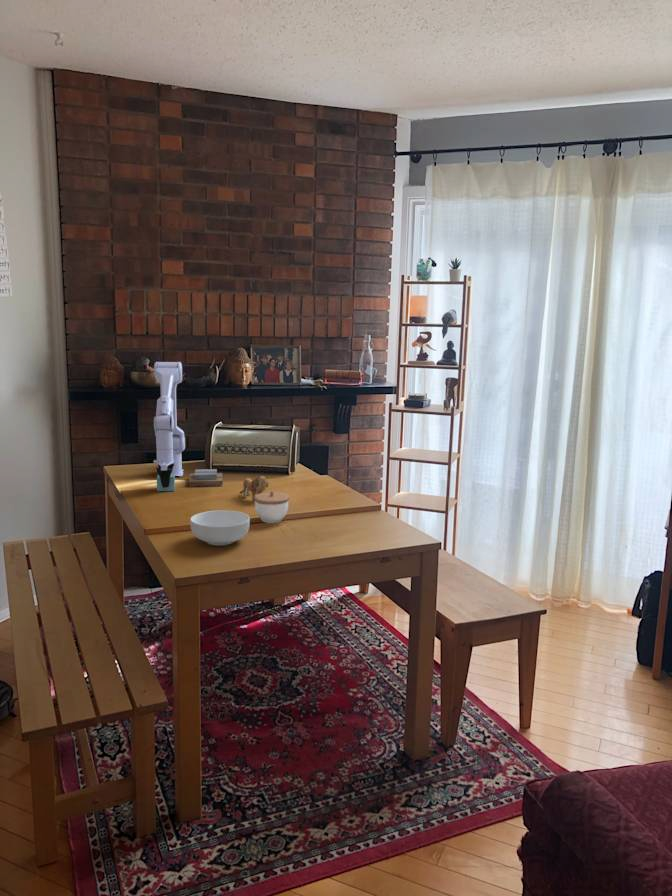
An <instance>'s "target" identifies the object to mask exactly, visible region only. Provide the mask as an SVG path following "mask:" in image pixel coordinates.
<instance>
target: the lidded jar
mask: <svg viewBox="0 0 672 896" xmlns="http://www.w3.org/2000/svg"><path fill="white" fill-rule="evenodd" d="M289 501H290V495H289V494H287V493H285V492H278V491H273V490H270V491H267V492H262V493H260V494H255V502H254V507H255V508H254V509H255V512H256V514H257V516H258V518H260V520H261V521H262V522H263V523H266V524H277V523H280V522H282V520H283V519H284V518H285V517H286V515H287V513H288V511H289V505H290V504H289Z"/></svg>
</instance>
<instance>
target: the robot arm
mask: <svg viewBox="0 0 672 896" xmlns="http://www.w3.org/2000/svg"><path fill="white" fill-rule="evenodd" d="M153 374H154V378H155V380H156V382H157V383H158V384H159V386H160V397H159V398H158V399H157V400H156V411H155V416H154V417H153V427H154V435H155V444H156V459H154V460H153V464H157V466H158V467H157V468H156V472H157V475H158V474H159V476H160V479H161V484H162V487H163V488H165V487H169V482H170V475H171V474H175V476H179V477H183V475H184V472H185V470H184V469H183V466H182V465H183V463H182V462H183V461H182V460H183V459H182V458H183V457H182V452H184V450H185V449H186V437H185V432H184V430H183V429H181V427H179V426H178V425H177V424H178V423H177V422H178V421H177V420H178V419H177V417H178V415H177V387H178V384H180V383H182V381H183V364H182V362H181V361H156V362H154V365H153ZM183 471H184V472H183Z"/></svg>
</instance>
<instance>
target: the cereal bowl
mask: <svg viewBox="0 0 672 896" xmlns="http://www.w3.org/2000/svg"><path fill="white" fill-rule="evenodd" d="M189 522H190V530H191V532H192V534H193V535H194V537H196V538H197V539H199V540H201V541H202V542H206V544H208V545H211V546H219V547H220V546H229V545H231V544H233V543H234V542H236V541H238V540H240V539H242V538H244V537H245V536H246V535H247V533H248V531H249V529H250V522H251V519H250V516H249V515H248V514H247V513H245V512H242V511H237V510H229V509H227V510H226V509H225V510H224V509H222V510H221V509H219V510H208V511H204V512H199V513H196V514H194V515H192V516H191V517H190V521H189Z"/></svg>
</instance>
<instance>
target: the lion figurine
mask: <svg viewBox="0 0 672 896" xmlns="http://www.w3.org/2000/svg"><path fill="white" fill-rule="evenodd" d="M269 486H270V482H269V481H267V479H266V477H265V476H258V477H256V478H254V479H253V480H252V479H251V478H250V477H246V478H245V479H244V480H243V484H242V487H243V489H242V490H241V491H239V494H243V495H242V499H247V496H250V495H251V499H252V500H251V502H252V503H255V496H256V495H257V494H260V493H264V491H266V488H268V487H269ZM250 492H251V493H250Z"/></svg>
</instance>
